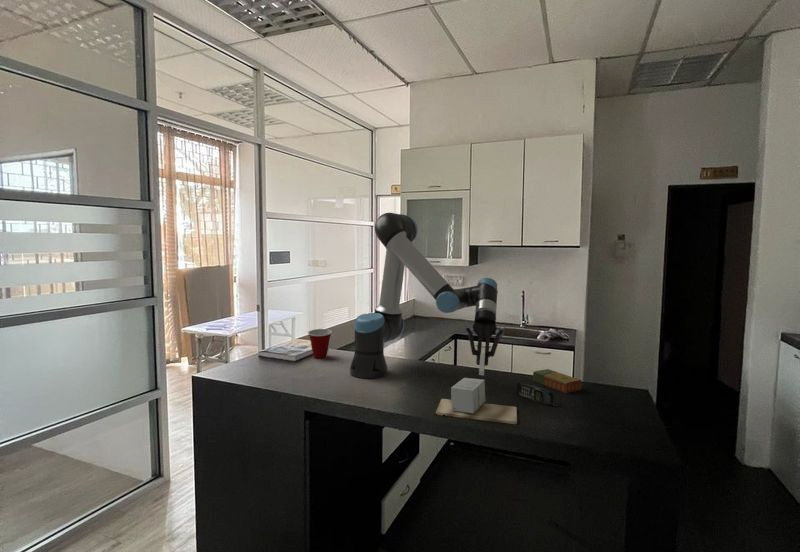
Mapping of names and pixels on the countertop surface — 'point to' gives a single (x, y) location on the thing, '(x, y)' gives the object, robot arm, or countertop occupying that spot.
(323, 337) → the plastic cup
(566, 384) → the carton
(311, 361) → the countertop surface
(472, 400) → the supplement box
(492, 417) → the wooden board
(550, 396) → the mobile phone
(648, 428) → the countertop surface
